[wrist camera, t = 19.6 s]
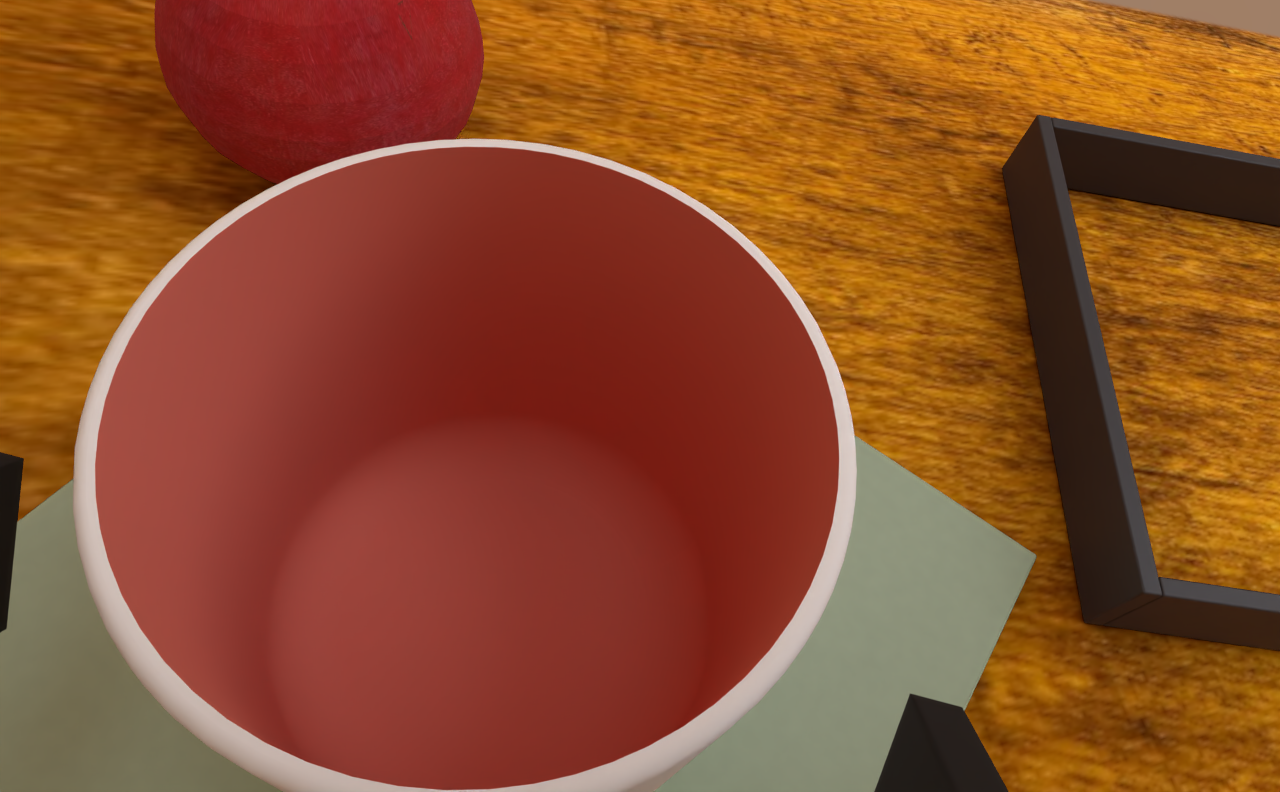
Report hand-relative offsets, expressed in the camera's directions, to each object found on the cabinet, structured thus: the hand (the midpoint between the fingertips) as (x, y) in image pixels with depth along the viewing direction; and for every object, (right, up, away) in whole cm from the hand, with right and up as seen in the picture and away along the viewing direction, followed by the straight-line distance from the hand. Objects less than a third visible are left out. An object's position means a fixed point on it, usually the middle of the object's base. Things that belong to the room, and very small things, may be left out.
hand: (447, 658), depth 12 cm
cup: (0, -1, +8) cm, 8 cm away
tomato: (-7, +12, +15) cm, 21 cm away
